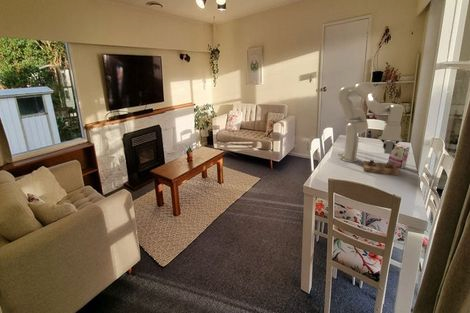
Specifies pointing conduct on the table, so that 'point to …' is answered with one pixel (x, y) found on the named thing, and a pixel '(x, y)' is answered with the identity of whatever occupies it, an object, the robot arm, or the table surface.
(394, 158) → the candy bar box
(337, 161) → the table surface
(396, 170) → the socket board
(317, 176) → the table surface
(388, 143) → the plug
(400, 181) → the table surface
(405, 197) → the table surface
